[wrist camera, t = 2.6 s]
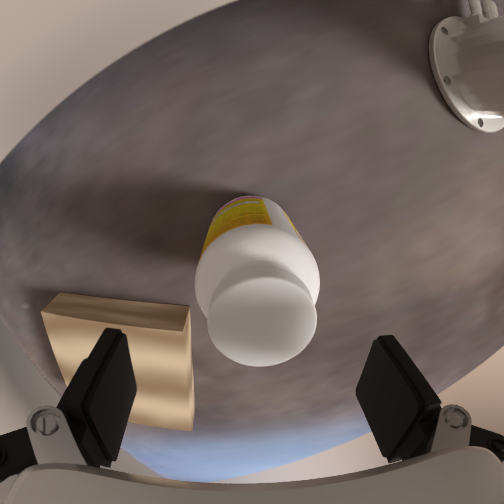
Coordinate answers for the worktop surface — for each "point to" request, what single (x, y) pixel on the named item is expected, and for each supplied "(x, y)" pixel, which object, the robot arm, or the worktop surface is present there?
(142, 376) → the block
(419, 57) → the worktop surface
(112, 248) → the worktop surface
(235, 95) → the worktop surface
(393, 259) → the worktop surface
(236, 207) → the supplement bottle
